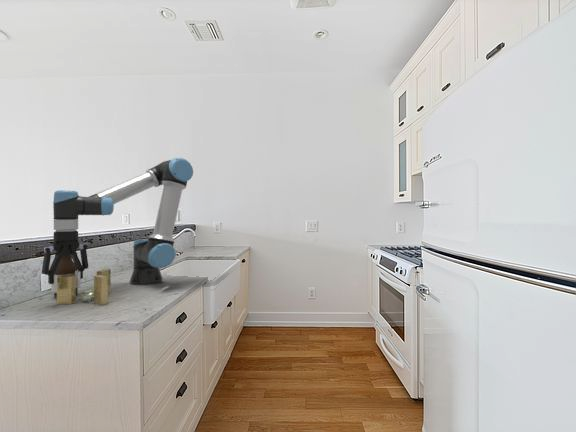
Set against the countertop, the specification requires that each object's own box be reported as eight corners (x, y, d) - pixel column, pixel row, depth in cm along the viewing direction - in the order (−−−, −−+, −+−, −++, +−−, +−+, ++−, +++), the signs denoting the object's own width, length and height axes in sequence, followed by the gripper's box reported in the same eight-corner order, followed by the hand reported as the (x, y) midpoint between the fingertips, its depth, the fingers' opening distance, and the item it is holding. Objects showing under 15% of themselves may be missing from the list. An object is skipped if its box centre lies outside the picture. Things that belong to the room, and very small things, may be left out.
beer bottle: (64, 302, 113) (64, 243, 113) (49, 301, 115) (48, 242, 115) (82, 297, 121) (82, 241, 121) (67, 295, 122) (67, 240, 122)
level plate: (121, 293, 127) (121, 281, 127) (120, 306, 109) (120, 293, 109) (63, 299, 117) (63, 287, 117) (50, 316, 98) (50, 301, 98)
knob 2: (101, 296, 118) (101, 271, 118) (96, 296, 118) (96, 271, 118) (110, 292, 123) (110, 268, 123) (105, 292, 123) (105, 268, 123)
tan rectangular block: (75, 302, 110) (75, 275, 110) (71, 303, 108) (71, 276, 108) (61, 302, 110) (61, 275, 110) (56, 303, 108) (56, 276, 108)
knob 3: (93, 302, 109) (93, 276, 109) (100, 301, 111) (100, 274, 111) (101, 305, 106) (101, 277, 106) (107, 303, 108) (107, 276, 108)
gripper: (90, 229, 119) (90, 283, 119) (28, 231, 102) (29, 294, 102) (99, 229, 115) (99, 285, 115) (37, 232, 98) (37, 297, 98)
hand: (66, 289), depth 109 cm, fingers open, 7 cm apart
